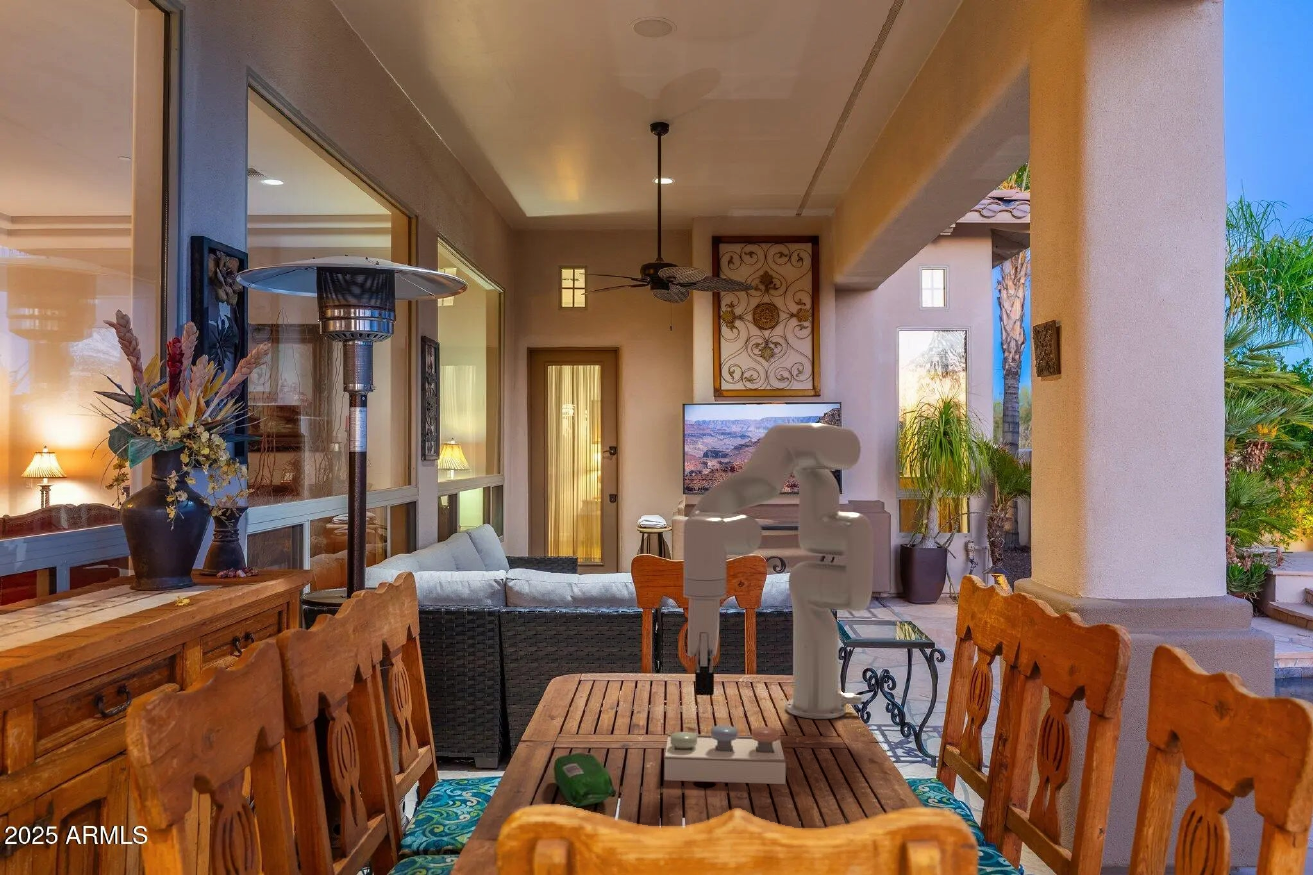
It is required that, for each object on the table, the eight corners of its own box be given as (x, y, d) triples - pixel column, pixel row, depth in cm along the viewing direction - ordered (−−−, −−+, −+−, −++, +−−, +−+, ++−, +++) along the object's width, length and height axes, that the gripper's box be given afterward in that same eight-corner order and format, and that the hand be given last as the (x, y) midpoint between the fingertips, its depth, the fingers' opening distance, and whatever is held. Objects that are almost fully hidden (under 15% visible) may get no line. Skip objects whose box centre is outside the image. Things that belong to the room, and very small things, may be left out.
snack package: (572, 819, 126) (573, 784, 126) (549, 780, 141) (549, 749, 141) (618, 813, 128) (618, 778, 128) (590, 775, 143) (591, 744, 143)
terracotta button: (777, 747, 148) (777, 726, 148) (779, 756, 143) (779, 735, 143) (750, 746, 148) (750, 726, 148) (752, 756, 144) (752, 734, 144)
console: (779, 758, 152) (779, 736, 152) (785, 783, 140) (785, 760, 140) (668, 754, 153) (668, 733, 153) (664, 780, 141) (664, 757, 141)
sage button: (697, 752, 149) (697, 732, 149) (696, 762, 144) (696, 741, 144) (671, 752, 149) (671, 731, 149) (669, 761, 145) (670, 740, 145)
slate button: (737, 746, 148) (737, 725, 149) (738, 755, 144) (738, 734, 144) (710, 745, 149) (710, 725, 149) (710, 754, 144) (711, 733, 144)
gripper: (685, 581, 155) (685, 681, 155) (680, 594, 140) (680, 706, 140) (726, 581, 154) (726, 682, 154) (726, 595, 139) (726, 707, 139)
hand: (704, 693), depth 147 cm, fingers closed
